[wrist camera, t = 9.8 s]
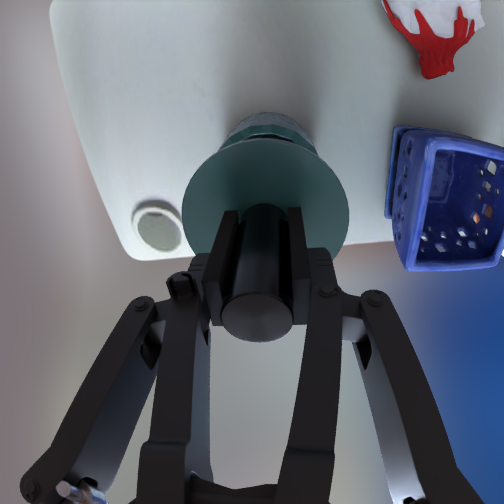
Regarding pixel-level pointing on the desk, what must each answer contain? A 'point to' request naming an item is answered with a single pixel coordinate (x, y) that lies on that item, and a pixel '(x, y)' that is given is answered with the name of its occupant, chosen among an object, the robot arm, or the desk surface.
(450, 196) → the flower pot
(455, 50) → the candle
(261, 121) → the pot
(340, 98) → the desk surface
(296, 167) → the lid
